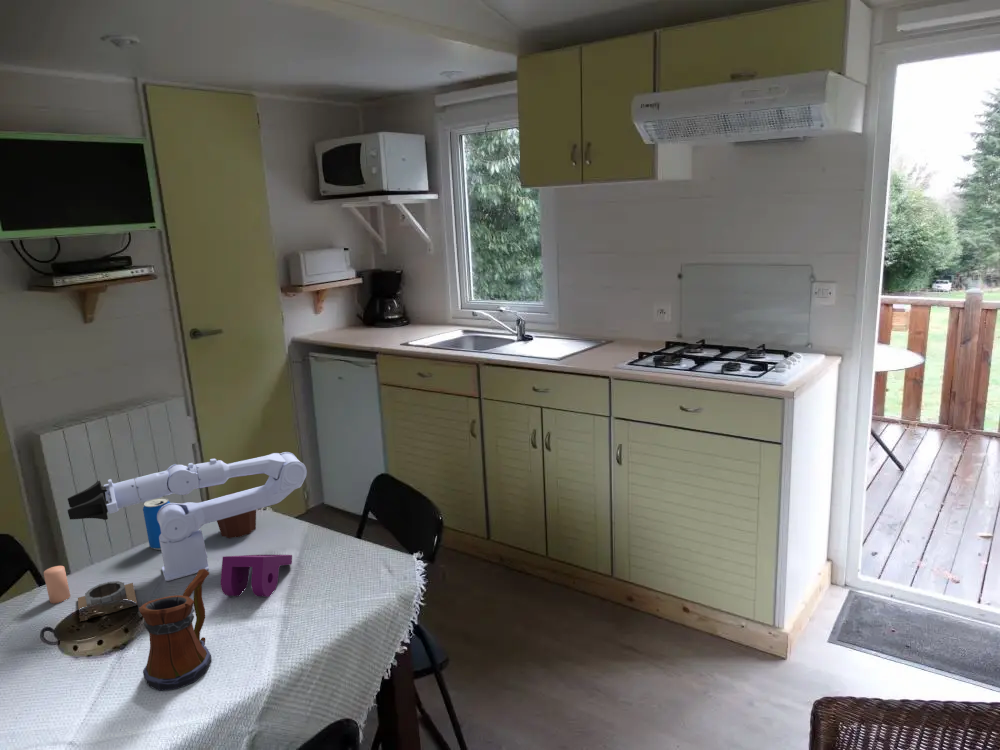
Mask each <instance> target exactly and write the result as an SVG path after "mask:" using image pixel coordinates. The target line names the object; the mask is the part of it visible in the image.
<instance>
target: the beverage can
mask: <svg viewBox="0 0 1000 750" xmlns="http://www.w3.org/2000/svg"><path fill="white" fill-rule="evenodd" d="M168 503H171V502H170V501H169V497H168V498H167V497H165V496H163V497H160V498H156V499H152V500H149V501H145V502H143V507H142V511H143V517H144V523H145V529H146V535H147V540H148V544H149V548H151V549H154V550H157V551H158V550H159V551H161V546H160V541H159V536H160V534H161V528H160V525H159V523H158V521H157V513H158V511H159V510H160V508H161V507H163V506H164V505H166V504H168Z"/></svg>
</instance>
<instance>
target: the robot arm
mask: <svg viewBox="0 0 1000 750" xmlns="http://www.w3.org/2000/svg"><path fill="white" fill-rule="evenodd" d="M260 474H265V475H267V476H268V478H267V480H266V482H265V483H264V484H263V485H260V486H256V487H253V488H249V489H245V490H241V491H237V493H236V492H232V493H233V494H231V493H229V494H230V495H228V494H226V495H222V496H219V497H215V498H212V499H209V500H204V501H200V502H192V501H191V502H190V501H189V502H187V501H186V502H183V503H179V502H178V503H176V502H170V503H168V504H166V505H164V506H163V507H161V508H160V510H159V511H158V513H157V521H158V523H159V525H160V528H161V534H160V536H159V541H160V546H161V550H160V553H161V557H162V563H163V566H161V571H162V574H163V577H164V580H165V582H170V581H174V580H177V579H181V578H184V577H188V576H190V575H194V574H197V573H198V571H199V570H201V569H206V570H207V571H209V569H210V567H209V562H208V553H207V550H206V545H205V539H204V535H203V532H202V529H201V528H202V527H203V526H204V525H207V524H210V523H213V522H217V520H221V519H224V518H228V517H231V516H235V515H239V514H242V513H246V512H249V511H253V510H256V511H257V510H259V509H263V508H266V507H270V506H273V505H276V504H279V503H280V502H282V501H283V500H285V498H287V497H288V496H289V495H290V494H292V492H293V491H295V490H297V489H299V488H301V487H302V485H303V483H304V481H305V479H306V478H307V475H308V471H307V467H306V465H305V464H304V462H301V461H300V460H299V459H298V458H297V456H296V455H295V454H294V453H292V452H289V451H284V452H281V453H279V452H272V453H270V454H267V455H262V456H258V457H254V458H249V459H242V460H240V461H239V460H238V461H235V462H229V463H226V462H224V461H223V460H221V459H220V460H219V459H218V460H217V459H216V458H210V459H209V461H206V462H200V463H196V464H194V462H189V463H188V464H187V465H185V464H177V463H174V464H172V465H170V466H169V467H167V469H166V470H163V471H159V472H154V473H149V474H147V475H143V476H138V477H134V478H130V479H126V480H123V481H118V482H113V480H112V478H110V479H107V482H108V483H105V484H103V485H102V482H101V480H98V481H96V482H94V483H93V484H92V485H91V486H89V487H88V488H86V489H84V490H82V491H80V492H78V493H76V494H73V495H71V496H69V497H68V498H67V502H68V506H69V508H68V509H67V510H66V511H67V514H68V518H69V520H81V519H84V520H85V519H98V520H103V521H106V520H108V519H109V518H108V514H113V513H117V512H119V510H120V509H122V508H123V509H124V508H126V507H130V506H134V505H137V504H141V503H145V502H146V501H149V500H152V499H156V498H161V497H165V496H169V495H172V494H173V495H174V494H175V495H179V496H180V495H181V496H182V495H184V496H186V495H188V494H190V493H192V491H194V490H197V489H203V488H207V487H214V486H219V485H224V484H226V482H227V481H228V480H229V479H231V478H238V477H246V476H252V475H260Z"/></svg>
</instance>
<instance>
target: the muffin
mask: <svg viewBox="0 0 1000 750" xmlns="http://www.w3.org/2000/svg"><path fill="white" fill-rule="evenodd" d="M237 492H238V491H237ZM237 492H235V493H237ZM233 493H234V492H231V493H228V494H227V495H230V494H233ZM216 523H217V526H218V530H219V531H220V535H221V537H225V538H227V539H232V538H242V537H244V536H246V535H250V534H251V533H252V532H254V531H255V530H256V529H257V527H256V526H257V509H256V510H253V511H249V512H246V513H242V514H239V515H235V516H231V517H228V518H224V519H221V520H217V521H216Z"/></svg>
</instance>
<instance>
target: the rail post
mask: <svg viewBox="0 0 1000 750" xmlns="http://www.w3.org/2000/svg"><path fill="white" fill-rule="evenodd" d="M43 576H44V582H45V587H46V590H47V595H48V599H49V600H48V601H49V603H50V604H59V602H60V603H62V601H63V602H65V601H64V600H66V599H67V600H69V599H70V598H71V592H70V588H69V584H68V583H69V582H68V577H67V573H66V568H65V566H63V565H55V566H51V567H48V568H47V569H45V570H44V571H43ZM69 597H70V598H69ZM68 598H69V599H68ZM67 600H66V601H67Z"/></svg>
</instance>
